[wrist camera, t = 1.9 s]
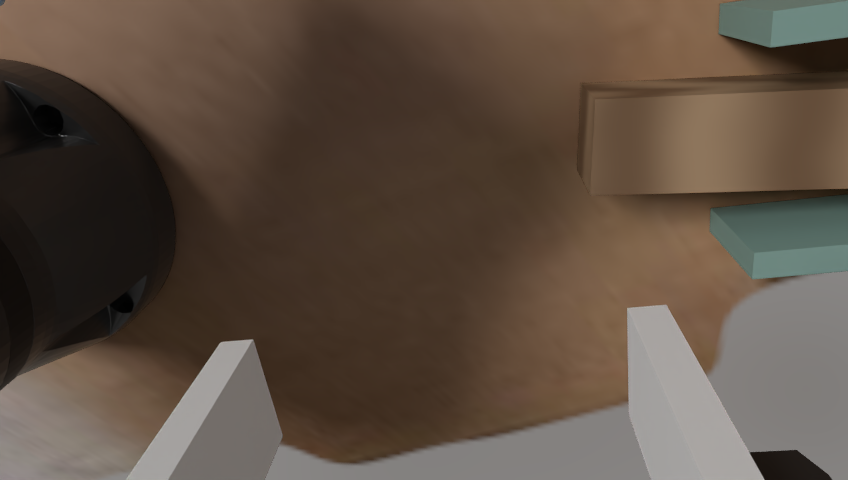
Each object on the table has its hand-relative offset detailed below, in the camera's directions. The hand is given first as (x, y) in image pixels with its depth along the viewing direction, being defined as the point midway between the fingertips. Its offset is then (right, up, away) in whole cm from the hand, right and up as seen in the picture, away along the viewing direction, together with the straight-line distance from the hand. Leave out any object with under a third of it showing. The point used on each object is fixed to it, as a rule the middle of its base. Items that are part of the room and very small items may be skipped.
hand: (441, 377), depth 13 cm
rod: (+15, +8, +14) cm, 22 cm away
